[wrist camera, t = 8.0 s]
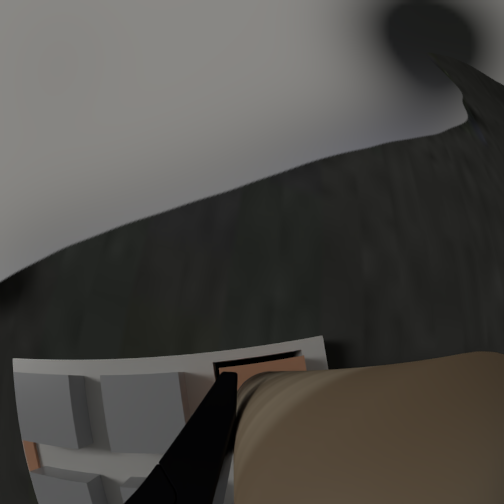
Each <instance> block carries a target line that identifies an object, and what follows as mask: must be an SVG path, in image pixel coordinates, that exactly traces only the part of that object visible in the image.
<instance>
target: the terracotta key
mask: <svg viewBox="0 0 504 504" xmlns="http://www.w3.org/2000/svg"><path fill="white" fill-rule="evenodd" d="M223 371H225V372H236V373H237V374H238V385H237V391H238V389H239V388H240V386H241V385H242V384H243V383H244V382H245V381H246V380H247V379H249V378H250V377H252V376H254V375H256V374H258V373H262V372H267V371H307V370H306V364H305V358H304V355H303V356H298V357H292V358H287V359H281V360H274V361H268V362H261V363H255V364H247V365H240V366H232V367H224V368H219V373H220V374H221V373H222V372H223Z"/></svg>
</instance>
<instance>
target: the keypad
mask: <svg viewBox="0 0 504 504" xmlns="http://www.w3.org/2000/svg"><path fill="white" fill-rule="evenodd" d="M292 352H294V357H298V356H303V355H304V358H305V364H306V370H307V371H309V370H328V364H327V358H326V352H325V347H324V341H323V336H317V337H312V338H307V339H301V340H295V341H289V342H283V343H277V344H270V345H263V346H257V347H249V348H242V349H234V350H226V351H217V352H208V353H199V354H188V355H177V356H164V357H149V358H131V359H104V360H42V359H18V358H13V373H14V385H15V395H16V404H17V412H18V419H19V425H20V431H21V436H22V442H23V447H24V451H25V456H26V460H27V464H28V468H29V472H30V476H31V480H32V483H33V487H34V490H35V493H36V497H37V500H38V503H39V504H123V503H124V502H125V501H126V500H127V499H128V498H129V497H130V496H131V495H132V494H133V493H134V492H135V491H136V490H137V489H138V488H139V486H140V485H141V484H142V483H143V481H144V480H145V479H146V478H147V477H148V475H149V474H150V473H151V471H152V470H153V469H154V467H155V466H156V465H157V464H159V461H160V459H161V458H162V457H163V455H164V454H165V452H166V451H167V450H168V448H169V447H170V445H171V444H172V443H173V441H174V440H175V438H176V437H177V436H178V434H179V433H180V431H181V430H182V429H183V427H184V426H185V424H186V423H187V422H188V420H189V419H190V417H191V416H192V414H193V413H194V412H195V410H196V409H197V407H198V406H199V404H200V403H201V401H202V400H203V398H204V397H205V396H206V394H207V393H208V391H209V390H210V388H211V387H212V385H213V384H214V382H215V381H216V379H217V373H216V366H215V363H223V362H231V361H239V360H246V359H254V358H261V357H267V356H274V355H280V354H286V353H292ZM223 504H234V464H233V456H232V462H231V467H230V472H229V478H228V483H227V488H226V493H225V498H224V503H223Z"/></svg>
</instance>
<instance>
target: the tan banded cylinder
mask: <svg viewBox="0 0 504 504" xmlns="http://www.w3.org/2000/svg"><path fill="white" fill-rule="evenodd" d="M233 464H234V504H504V354H500V353H497V352H481V351H478V352H471V353H464V354H458V355H452V356H446V357H441V358H434V359H428V360H421V361H414V362H407V363H399V364H390V365H381V366H371V367H360V368H347V369H331V370H309V371H267V372H262V373H258V374H256V375H254V376H252V377H250V378H249V379H247V380H246V381H245V382H244V383H243V384H242V385H241V386H240V388H239V389H238V391H237V410H236V425H235V432H234V441H233Z"/></svg>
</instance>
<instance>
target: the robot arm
mask: <svg viewBox="0 0 504 504" xmlns="http://www.w3.org/2000/svg"><path fill="white" fill-rule="evenodd" d="M237 385H238V374H237V373H236V372H225V371H223V372H222V373H221V374H220V375H219V376H218V378H217V379H216V381H215V382H214V384H213V385H212V387H211V388H210V390H209V391H208V393H207V394H206V396H205V397H204V398H203V400H202V401H201V403H200V404H199V406H198V407H197V409H196V410H195V412H194V413H193V414H192V416H191V417H190V419H189V420H188V422H187V423H186V424H185V426H184V427H183V429H182V430H181V431H180V433H179V434H178V436H177V437H176V438H175V440H174V441H173V443H172V444H171V445H170V447H169V448H168V450H167V451H166V452H165V454H164V455H163V457H162V458H161V459H160V461H159V464H157V465H156V466H155V467H154V469H153V470H152V471H151V473H150V474H149V475H148V477H147V478H146V479H145V480H144V481H143V483H142V484H141V485H140V486H139V488H138V489H137V490H136V491H135V492H134V493H133V494H132V495H131V496H130V497H129V498H128V499H127V500H126V501H125V502H124V503H123V504H223V503H224V498H225V493H226V488H227V483H228V478H229V472H230V467H231V462H232V456H233V441H234V432H235V425H236V410H237Z"/></svg>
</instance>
